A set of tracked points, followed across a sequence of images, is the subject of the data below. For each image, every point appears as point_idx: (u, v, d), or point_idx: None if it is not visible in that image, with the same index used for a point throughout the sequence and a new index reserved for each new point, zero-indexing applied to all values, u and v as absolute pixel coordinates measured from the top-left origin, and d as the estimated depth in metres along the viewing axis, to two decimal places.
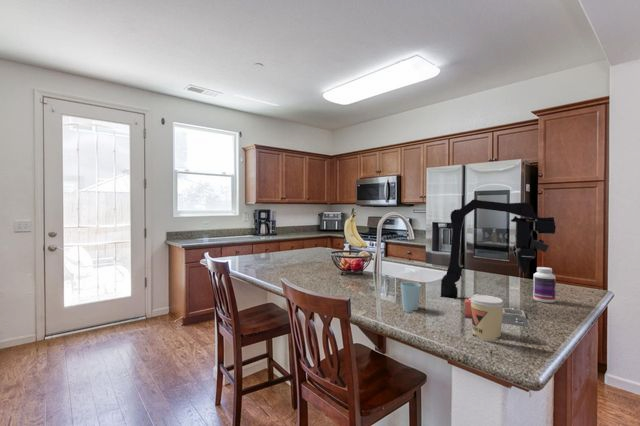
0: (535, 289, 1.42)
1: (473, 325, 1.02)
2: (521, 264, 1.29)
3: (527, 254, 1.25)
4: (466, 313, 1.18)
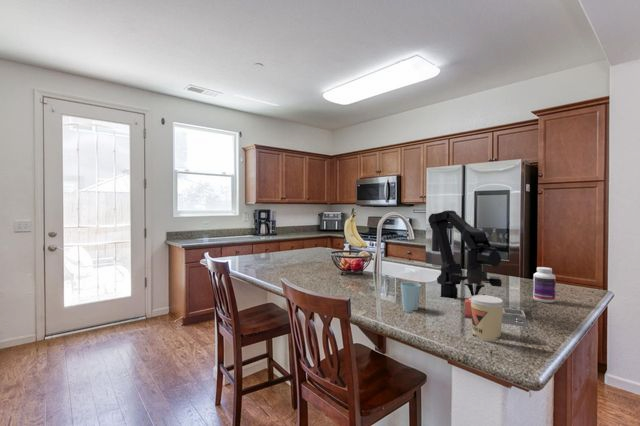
0: (535, 289, 1.42)
1: (473, 325, 1.02)
2: None
3: None
4: (466, 313, 1.18)
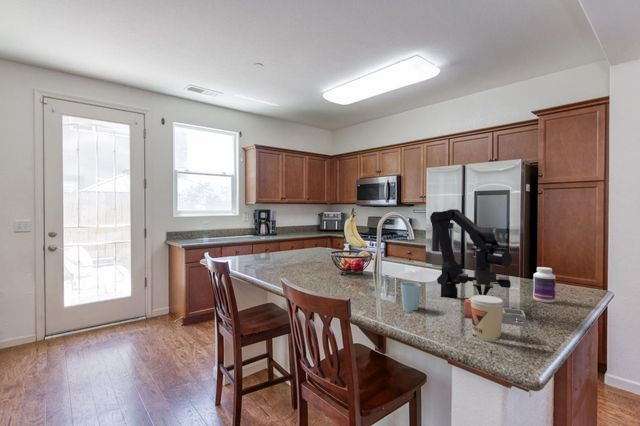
0: (535, 289, 1.42)
1: (473, 325, 1.02)
2: None
3: None
4: (466, 313, 1.18)
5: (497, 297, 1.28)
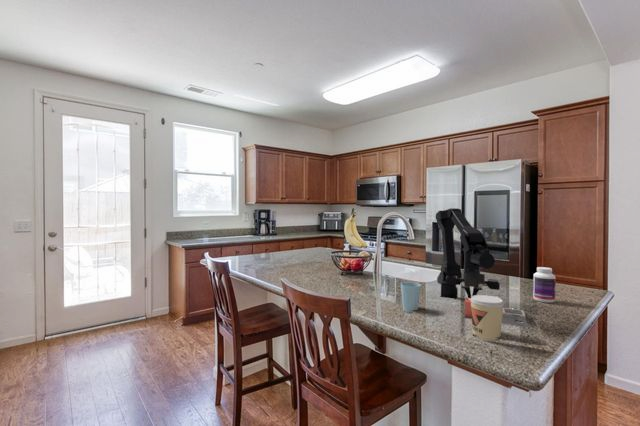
0: (535, 289, 1.42)
1: (473, 325, 1.02)
2: None
3: None
4: (466, 313, 1.18)
5: (497, 297, 1.28)
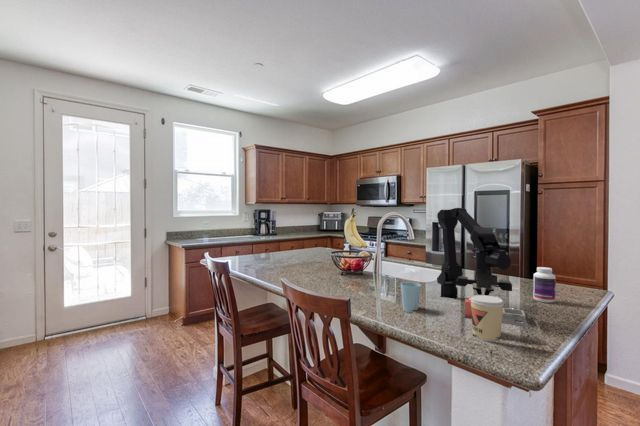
0: (535, 289, 1.42)
1: (473, 325, 1.02)
2: None
3: None
4: (466, 313, 1.18)
5: (497, 297, 1.28)
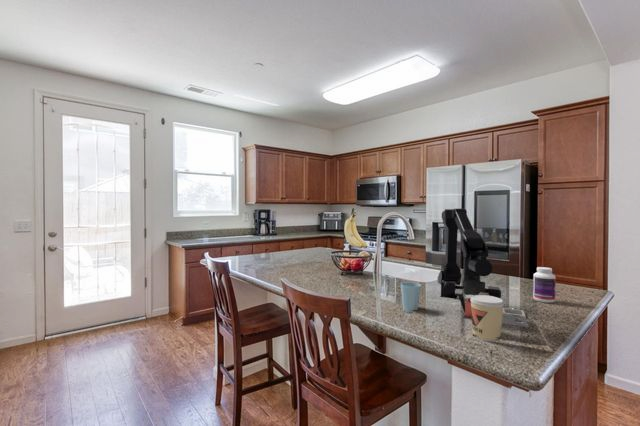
0: (535, 289, 1.42)
1: (473, 325, 1.02)
2: None
3: None
4: (466, 313, 1.18)
5: None
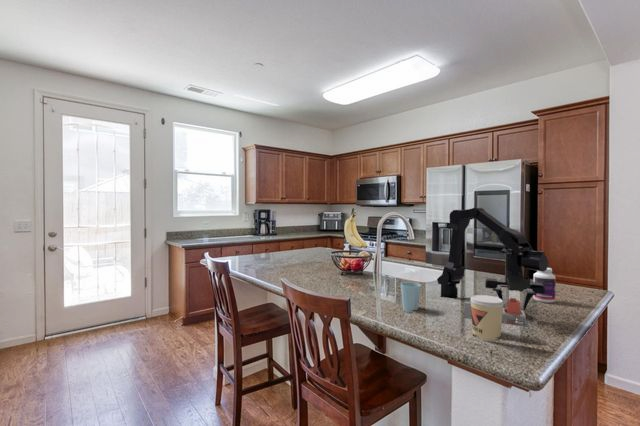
0: None
1: (473, 325, 1.02)
2: None
3: None
4: None
5: (497, 297, 1.28)
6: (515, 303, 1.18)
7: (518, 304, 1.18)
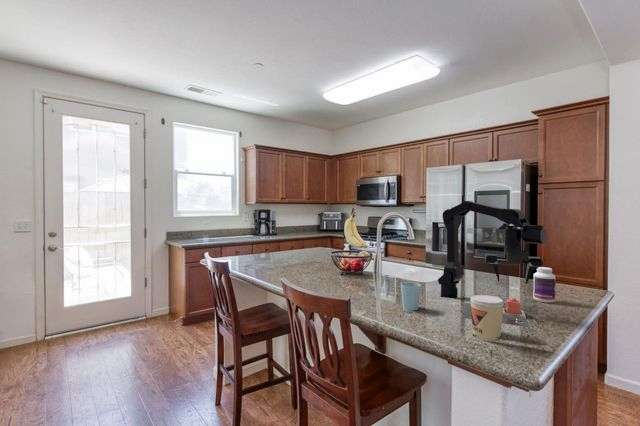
0: (535, 289, 1.42)
1: (473, 325, 1.02)
2: None
3: (485, 259, 1.29)
4: None
5: (497, 297, 1.28)
6: (515, 303, 1.18)
7: (518, 304, 1.18)
